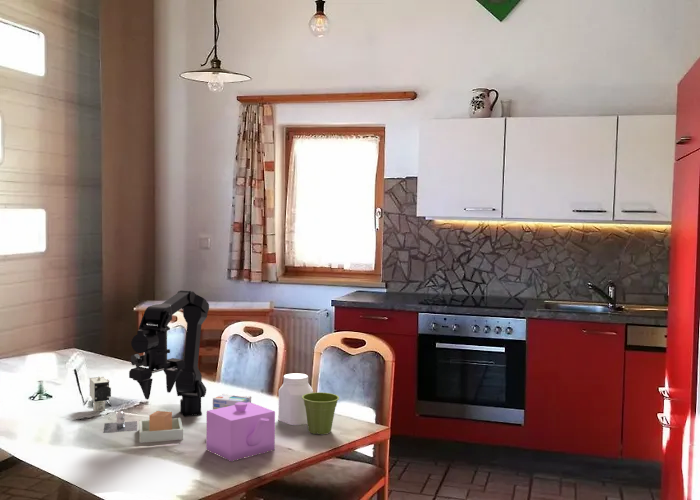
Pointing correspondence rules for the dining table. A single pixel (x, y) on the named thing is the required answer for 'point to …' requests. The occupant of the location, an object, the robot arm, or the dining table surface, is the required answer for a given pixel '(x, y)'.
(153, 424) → the terracotta orange cube
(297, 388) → the jar
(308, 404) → the plant pot
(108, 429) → the stud plate
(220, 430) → the lilac knobbed box
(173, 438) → the tray
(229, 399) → the light bulb box
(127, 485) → the dining table surface
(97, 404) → the pneumatic valve
